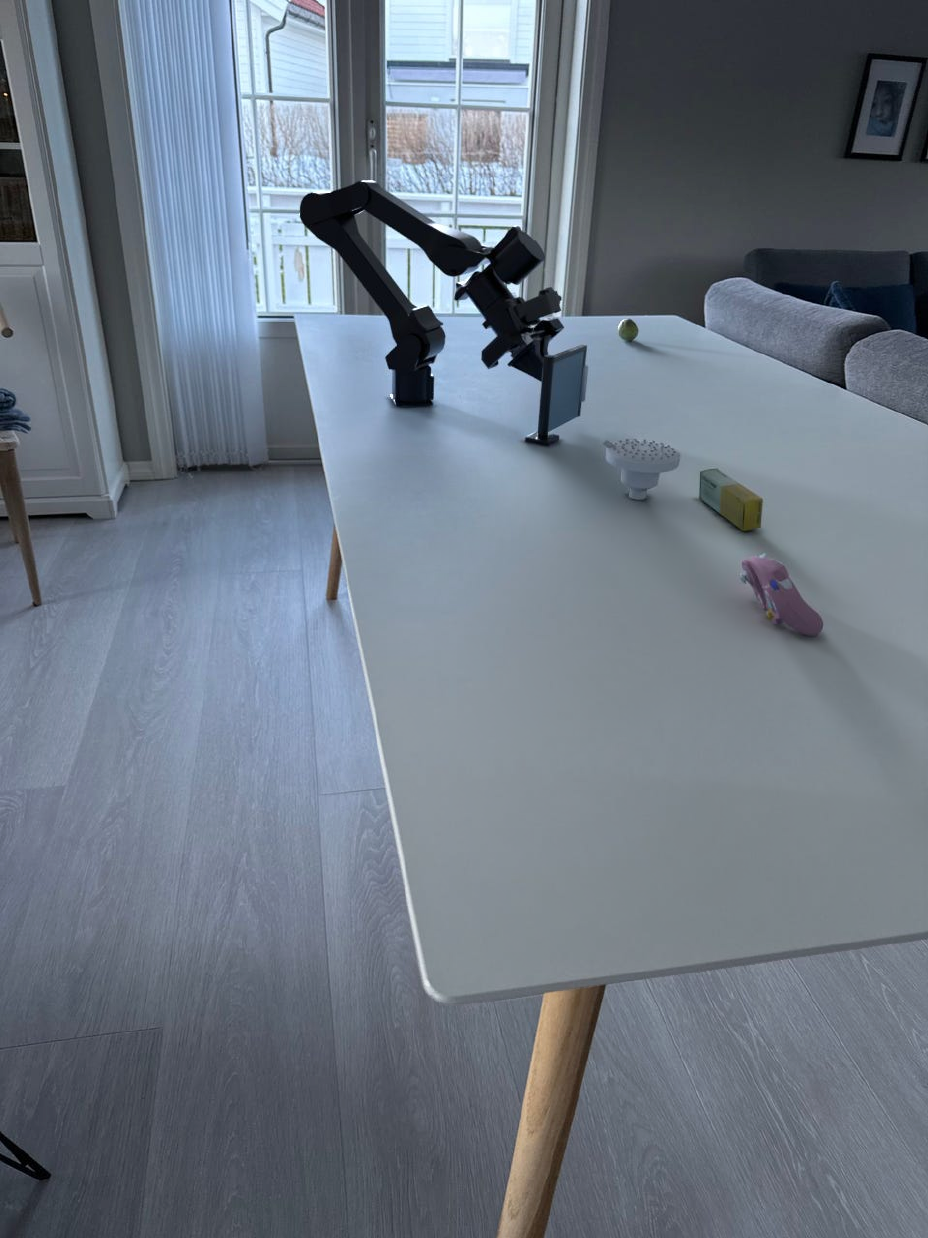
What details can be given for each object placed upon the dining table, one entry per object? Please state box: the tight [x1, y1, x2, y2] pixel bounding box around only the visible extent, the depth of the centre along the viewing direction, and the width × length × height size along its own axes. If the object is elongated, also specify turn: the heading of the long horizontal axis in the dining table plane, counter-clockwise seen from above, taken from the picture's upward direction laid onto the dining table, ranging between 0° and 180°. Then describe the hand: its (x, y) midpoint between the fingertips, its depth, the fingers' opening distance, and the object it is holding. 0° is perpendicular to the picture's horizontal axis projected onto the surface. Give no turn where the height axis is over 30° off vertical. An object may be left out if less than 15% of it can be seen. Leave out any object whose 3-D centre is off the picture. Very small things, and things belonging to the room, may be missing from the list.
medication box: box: [698, 468, 764, 532], centre depth 113 cm, size 12×3×4 cm, turn 13°
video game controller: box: [739, 552, 824, 637], centre depth 89 cm, size 10×5×7 cm, turn 5°
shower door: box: [548, 344, 589, 433], centre depth 141 cm, size 2×12×11 cm, turn 150°
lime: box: [617, 318, 639, 342], centre depth 212 cm, size 4×5×5 cm
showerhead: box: [602, 438, 681, 501], centre depth 117 cm, size 9×7×10 cm
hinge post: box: [524, 354, 560, 448], centre depth 136 cm, size 4×4×13 cm
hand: (554, 385), depth 143 cm, fingers closed
